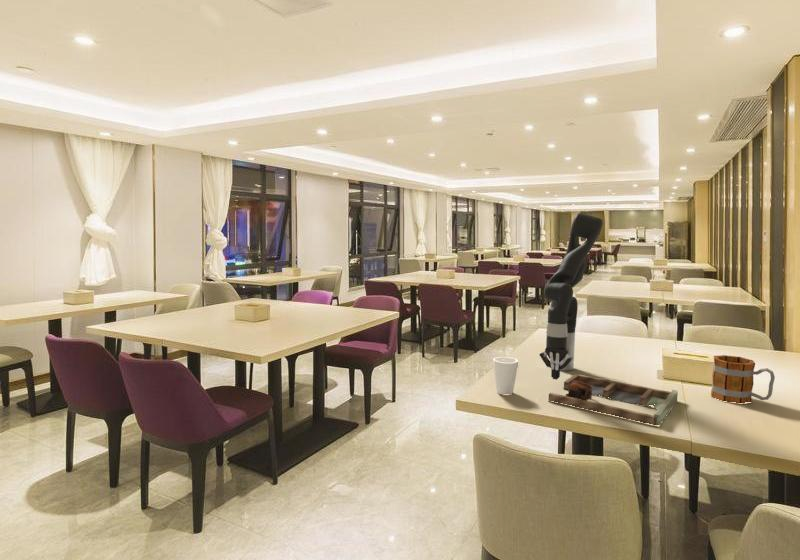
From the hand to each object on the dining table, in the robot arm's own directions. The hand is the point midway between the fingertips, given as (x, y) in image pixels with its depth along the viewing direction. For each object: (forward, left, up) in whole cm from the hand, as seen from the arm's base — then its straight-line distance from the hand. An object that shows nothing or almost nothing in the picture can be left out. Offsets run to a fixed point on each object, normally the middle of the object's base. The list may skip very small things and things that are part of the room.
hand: (555, 378), depth 187 cm
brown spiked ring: (+10, -1, -6) cm, 12 cm away
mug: (+56, +38, -6) cm, 68 cm away
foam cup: (-16, -11, -6) cm, 20 cm away
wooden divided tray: (+19, +6, -6) cm, 21 cm away
